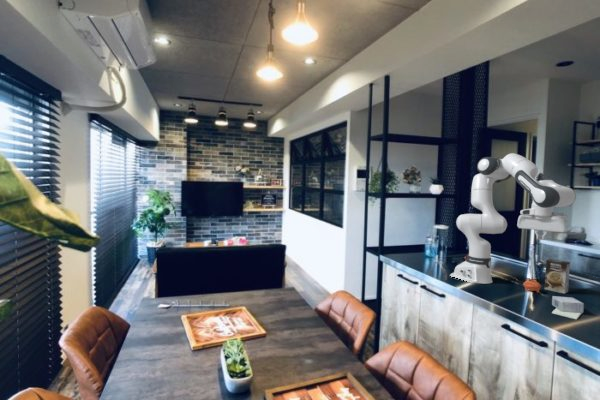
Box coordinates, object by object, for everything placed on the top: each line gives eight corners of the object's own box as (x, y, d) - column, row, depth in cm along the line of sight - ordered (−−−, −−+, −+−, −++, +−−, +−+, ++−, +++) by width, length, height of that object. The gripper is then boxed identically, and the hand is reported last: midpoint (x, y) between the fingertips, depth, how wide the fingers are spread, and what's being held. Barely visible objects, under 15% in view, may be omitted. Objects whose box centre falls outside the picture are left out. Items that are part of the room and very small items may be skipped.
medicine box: (561, 311, 146) (583, 313, 145) (561, 301, 146) (584, 303, 144) (551, 305, 154) (572, 306, 152) (552, 295, 154) (573, 297, 152)
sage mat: (551, 313, 146) (551, 311, 146) (558, 307, 153) (558, 306, 153) (576, 319, 140) (576, 318, 140) (582, 313, 147) (582, 311, 147)
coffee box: (543, 289, 179) (545, 259, 178) (548, 287, 183) (549, 258, 182) (564, 294, 172) (566, 263, 171) (568, 291, 176) (570, 261, 175)
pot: (545, 291, 174) (544, 280, 173) (535, 297, 171) (535, 285, 170) (529, 286, 181) (528, 275, 180) (520, 292, 178) (519, 280, 177)
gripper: (569, 213, 161) (567, 241, 161) (520, 210, 176) (519, 235, 177) (566, 213, 157) (564, 242, 157) (516, 210, 172) (515, 237, 173)
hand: (540, 239), depth 167 cm, fingers closed
